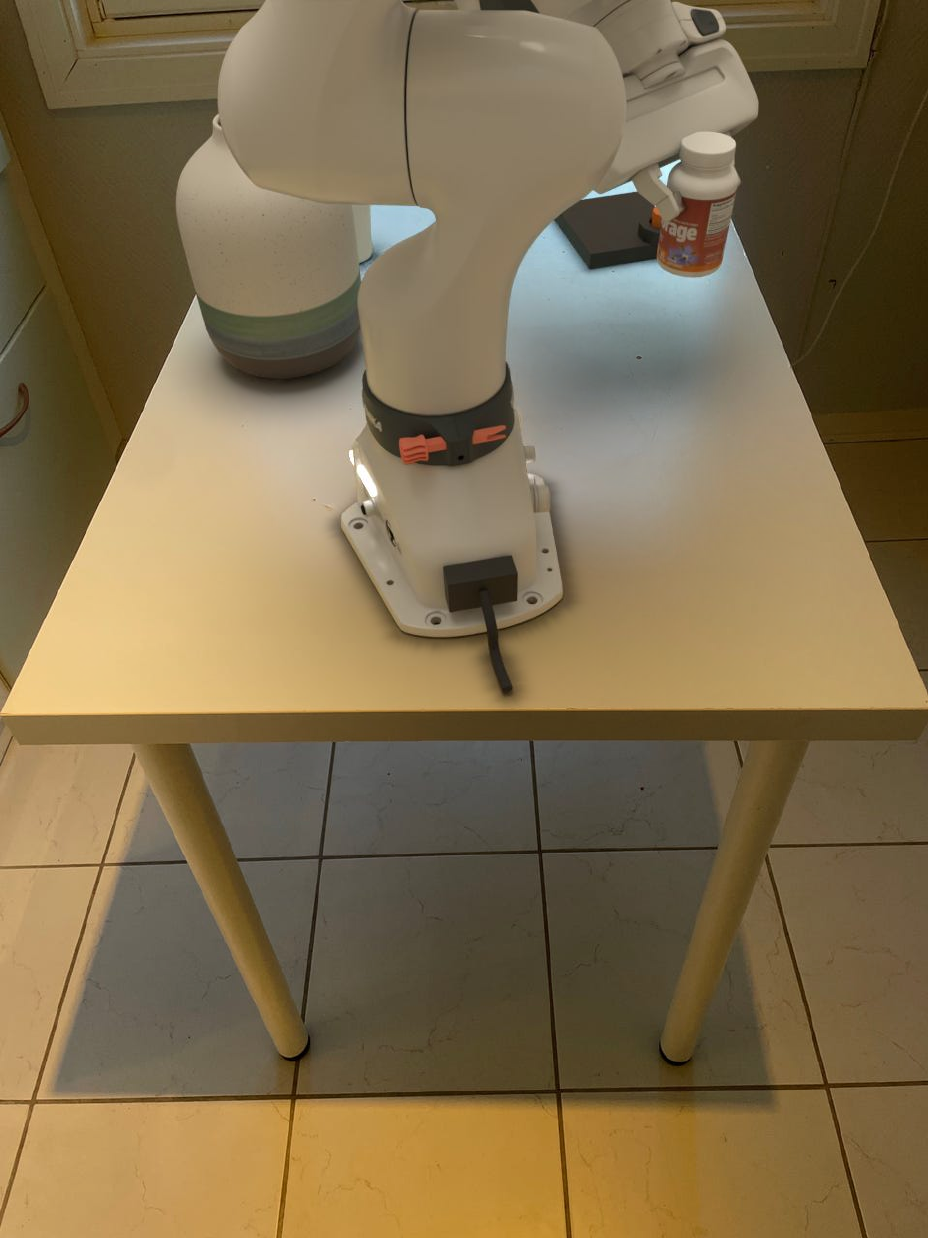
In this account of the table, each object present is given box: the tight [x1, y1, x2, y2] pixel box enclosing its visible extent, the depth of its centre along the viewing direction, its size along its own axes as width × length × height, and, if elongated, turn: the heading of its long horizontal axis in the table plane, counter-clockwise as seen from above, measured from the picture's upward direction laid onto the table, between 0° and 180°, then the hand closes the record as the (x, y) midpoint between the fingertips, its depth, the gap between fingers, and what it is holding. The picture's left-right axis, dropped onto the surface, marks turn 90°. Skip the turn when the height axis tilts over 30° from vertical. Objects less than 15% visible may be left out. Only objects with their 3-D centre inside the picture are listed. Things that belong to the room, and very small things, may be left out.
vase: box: [175, 113, 362, 379], centre depth 93 cm, size 17×17×24 cm
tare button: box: [651, 206, 662, 228], centre depth 112 cm, size 3×3×2 cm
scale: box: [553, 191, 661, 270], centre depth 116 cm, size 15×13×4 cm
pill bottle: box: [656, 132, 739, 279], centre depth 84 cm, size 6×6×11 cm
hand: (704, 203), depth 84 cm, fingers closed on pill bottle, 6 cm apart
